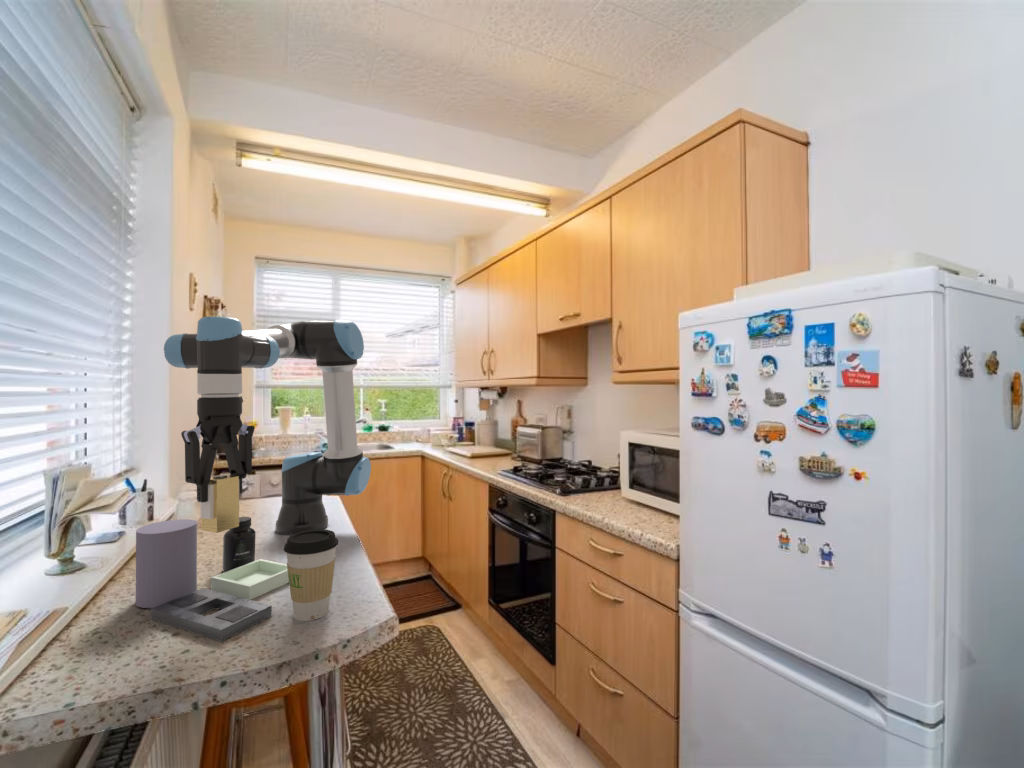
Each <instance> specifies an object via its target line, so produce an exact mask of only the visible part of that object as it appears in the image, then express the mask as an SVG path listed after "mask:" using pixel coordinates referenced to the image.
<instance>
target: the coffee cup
mask: <svg viewBox="0 0 1024 768" xmlns="http://www.w3.org/2000/svg"><path fill="white" fill-rule="evenodd" d="M338 545H339V540H338V537H337V536H336V533H335V531H333V530H330V529H320V530H308V531H303V532H299V533H295V534H290V536H288V537H287V539H286V543H285V544H284V546H283V551H284V553H286V559H287V563H286V564H287V570H288V578H289V582H288V583H289V584H288V585H289V592H290V593H289V594H290V599H291V601H292V603H291V604H292V611H293V618H294V619H295V620H297V621H300V622H311V621H316V620H319V619H322V618H323V617H324V615H325V616H326V615H327V614H328V613H329V610H330V609H329V608H330V599H331V595H332V589H333V582H334V576H335V575H334V574H335V573H334V572H335V568H336V567H335V566H336V565H335V564H336V551H337V546H338ZM318 618H319V619H318ZM315 619H316V620H315Z"/></svg>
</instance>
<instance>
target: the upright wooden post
mask: <svg viewBox="0 0 1024 768" xmlns="http://www.w3.org/2000/svg"><path fill="white" fill-rule="evenodd" d="M209 484H214V518H213V519H205V518H201V517H200V519H201V522H200V523H201V527H200V528H201V529H200V530H201V531H204V532H211V533H215V534H218V533H221V532H226V531H228V530H229V529H232V528H235V527H238V526H239V517H240V494H239V476H232V475H230V474H219V475H214V476H213V475H212V476H211V478H210V483H209Z"/></svg>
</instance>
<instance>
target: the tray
mask: <svg viewBox="0 0 1024 768" xmlns="http://www.w3.org/2000/svg"><path fill="white" fill-rule="evenodd" d="M210 581H211V582H210V587H211V588H210V590H213V591H217V592H221V593H225V594H229V595H233V596H237V597H241V598H245V599H249V600H253V599H256V598H258V597H260V596H262V595H264V594H266V593H268V592H271V591H274V590H275V589H277V588H279V587H281V586H284V585H286V584H288V583H289V578H288V570H287V563H281V562H276V561H274V560H267V559H262V558H259V559H257V560H256V559H255V561H254V562H251V563H248V564H246V565H243V566H240V567H238V568H235V569H232V570H230V571H227V572H224V571H223V573H219V574H216V575H213V576H211V579H210Z"/></svg>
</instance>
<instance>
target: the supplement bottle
mask: <svg viewBox="0 0 1024 768" xmlns="http://www.w3.org/2000/svg"><path fill="white" fill-rule="evenodd" d="M251 526H252V517H250V516H239V526H238V527H235V528H232V529H228V530H226V531H225V533H224V534H223V540H222V571H223V573H224V572H227V571H230V570H232V569H235V568H238V567H240V566H243V565H246V564H248V563H251V562H254V561H256V530H255V529H254V528H252V527H251Z"/></svg>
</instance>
